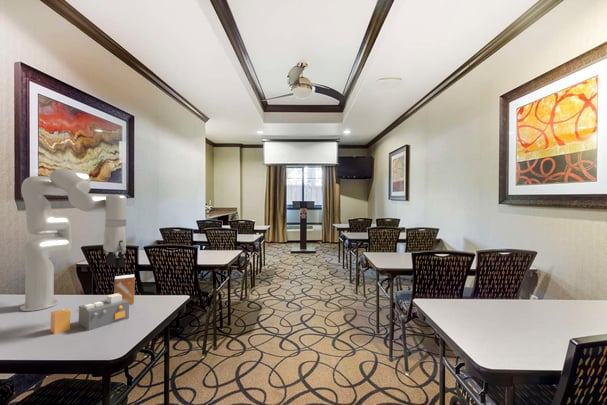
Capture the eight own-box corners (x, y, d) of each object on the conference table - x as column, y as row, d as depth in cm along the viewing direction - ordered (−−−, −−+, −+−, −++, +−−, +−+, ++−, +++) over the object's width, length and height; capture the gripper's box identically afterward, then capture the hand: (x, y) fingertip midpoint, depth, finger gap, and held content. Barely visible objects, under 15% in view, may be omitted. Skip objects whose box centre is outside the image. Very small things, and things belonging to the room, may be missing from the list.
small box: (113, 307, 128) (114, 279, 129) (114, 303, 134) (114, 276, 134) (134, 304, 133) (134, 276, 133) (133, 300, 138) (134, 273, 138)
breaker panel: (78, 323, 110) (79, 303, 110) (117, 312, 122) (118, 294, 122) (89, 330, 104) (90, 309, 105) (129, 318, 116) (129, 299, 116)
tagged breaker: (106, 310, 116) (106, 295, 116) (117, 307, 119) (117, 293, 119) (111, 312, 114) (111, 297, 114) (121, 309, 117) (121, 294, 117)
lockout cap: (50, 330, 104) (50, 312, 104) (65, 326, 108) (66, 308, 108) (54, 334, 102) (55, 314, 102) (69, 329, 105) (70, 311, 105)
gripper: (96, 223, 118) (95, 264, 118) (115, 225, 109) (114, 270, 109) (116, 222, 125) (115, 262, 124) (135, 224, 115) (134, 267, 115)
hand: (114, 265), depth 116 cm, fingers open, 7 cm apart
